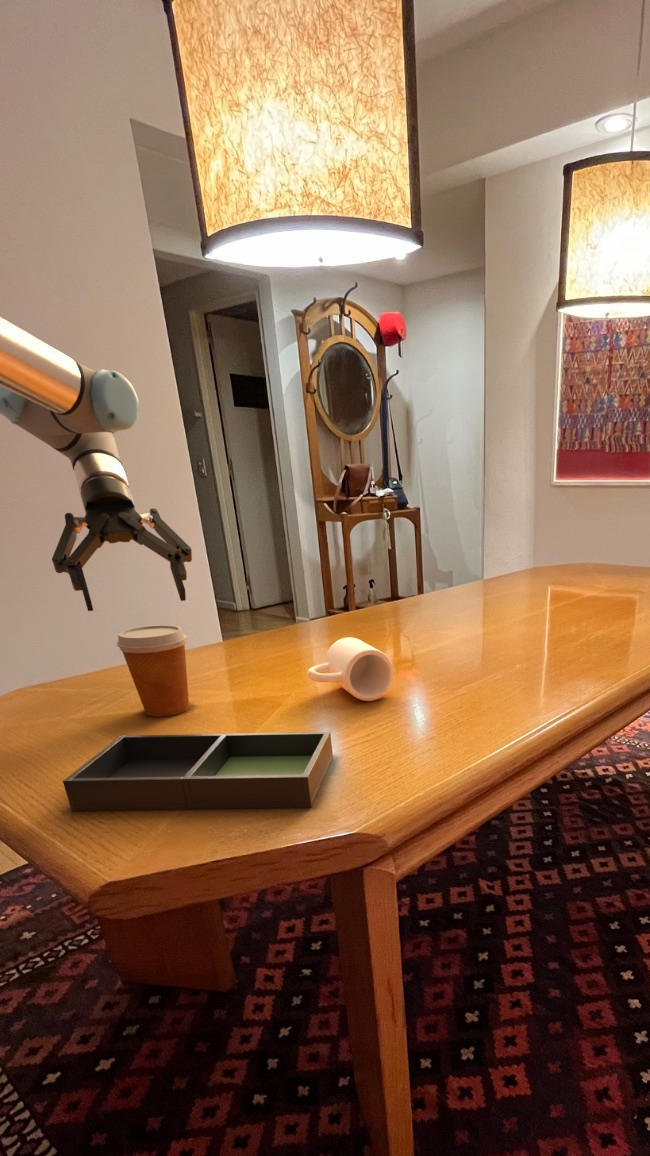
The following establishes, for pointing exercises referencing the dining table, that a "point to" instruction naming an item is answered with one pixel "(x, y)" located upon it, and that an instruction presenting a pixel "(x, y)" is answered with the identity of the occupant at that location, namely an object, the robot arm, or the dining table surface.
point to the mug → (356, 669)
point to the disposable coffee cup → (157, 667)
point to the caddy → (203, 772)
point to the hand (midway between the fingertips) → (137, 600)
